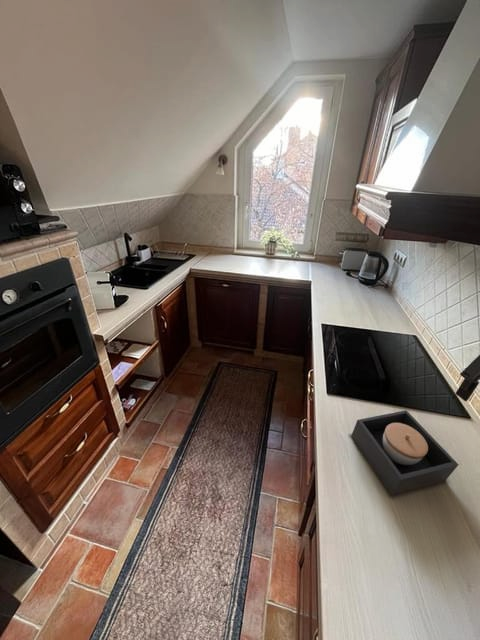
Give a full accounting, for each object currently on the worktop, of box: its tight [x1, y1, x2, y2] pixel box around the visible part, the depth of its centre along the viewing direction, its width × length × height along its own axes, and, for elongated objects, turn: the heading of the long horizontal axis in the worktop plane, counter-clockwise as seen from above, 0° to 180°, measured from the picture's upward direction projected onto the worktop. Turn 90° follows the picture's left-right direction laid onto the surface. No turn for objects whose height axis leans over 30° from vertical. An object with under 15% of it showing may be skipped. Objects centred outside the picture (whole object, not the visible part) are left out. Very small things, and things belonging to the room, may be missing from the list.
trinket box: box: [382, 423, 428, 465], centre depth 74 cm, size 11×11×9 cm
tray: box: [350, 409, 459, 496], centre depth 75 cm, size 18×18×8 cm
